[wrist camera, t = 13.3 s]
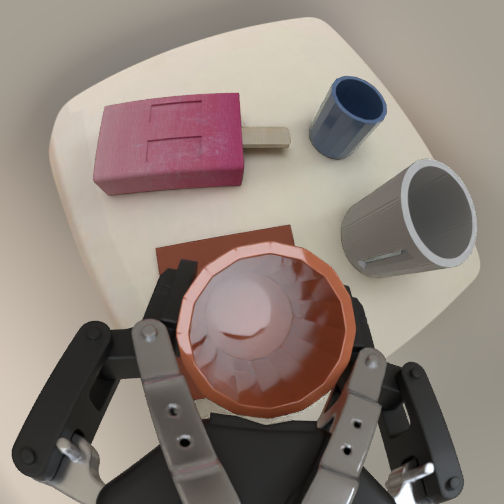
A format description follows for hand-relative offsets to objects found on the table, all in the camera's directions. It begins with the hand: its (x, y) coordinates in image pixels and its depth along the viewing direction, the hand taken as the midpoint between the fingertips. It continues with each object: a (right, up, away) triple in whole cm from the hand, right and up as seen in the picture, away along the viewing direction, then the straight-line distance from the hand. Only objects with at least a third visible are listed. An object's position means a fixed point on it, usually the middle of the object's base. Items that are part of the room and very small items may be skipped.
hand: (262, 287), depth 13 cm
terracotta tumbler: (-1, -2, +4) cm, 5 cm away
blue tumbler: (+9, +15, +20) cm, 27 cm away
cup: (+14, +3, +18) cm, 23 cm away
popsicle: (-7, +13, +18) cm, 23 cm away
